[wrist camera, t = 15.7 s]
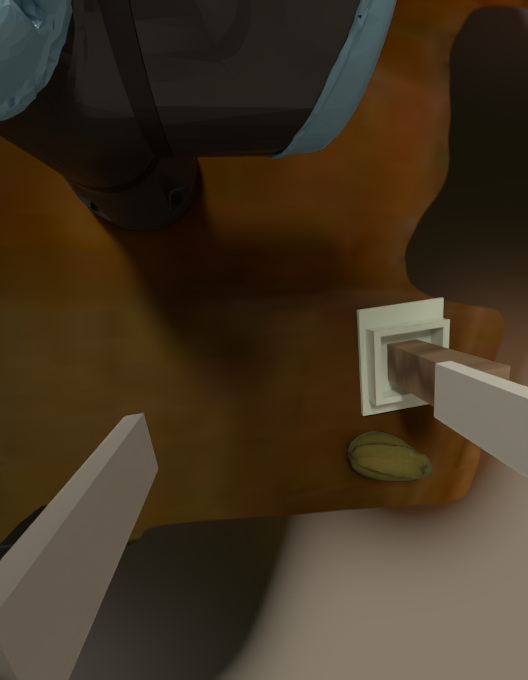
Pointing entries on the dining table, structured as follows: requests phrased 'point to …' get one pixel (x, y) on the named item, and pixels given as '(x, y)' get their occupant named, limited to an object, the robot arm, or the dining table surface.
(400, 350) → the wooden square post
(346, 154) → the dining table surface
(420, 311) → the holder plate
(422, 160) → the dining table surface
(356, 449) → the fruit
